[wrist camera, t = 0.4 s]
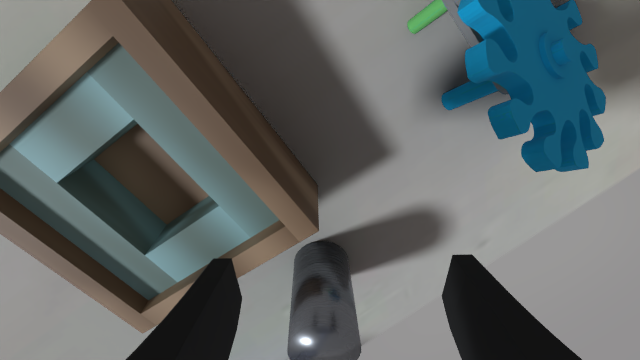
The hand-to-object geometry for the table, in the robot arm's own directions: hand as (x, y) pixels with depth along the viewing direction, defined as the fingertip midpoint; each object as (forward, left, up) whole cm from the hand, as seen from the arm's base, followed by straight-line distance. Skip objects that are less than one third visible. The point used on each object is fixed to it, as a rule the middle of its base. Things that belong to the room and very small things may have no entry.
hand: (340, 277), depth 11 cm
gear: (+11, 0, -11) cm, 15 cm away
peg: (-5, -7, -10) cm, 13 cm away
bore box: (-8, +5, -10) cm, 14 cm away
